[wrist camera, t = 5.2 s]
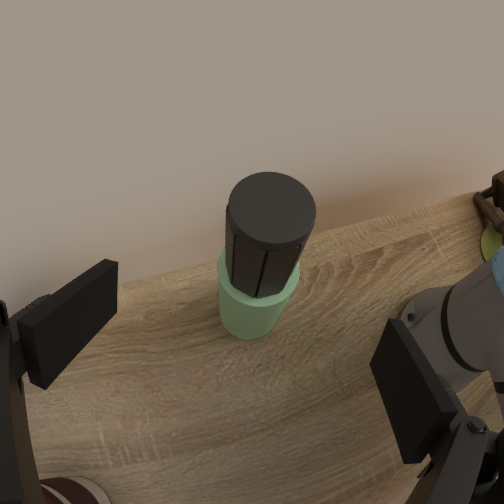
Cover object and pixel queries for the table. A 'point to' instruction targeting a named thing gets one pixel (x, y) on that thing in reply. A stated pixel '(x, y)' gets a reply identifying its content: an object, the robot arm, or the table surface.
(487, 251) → the mat
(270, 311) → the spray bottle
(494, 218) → the dark brown looped block
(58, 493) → the coffee cup
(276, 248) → the cap
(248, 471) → the table surface
